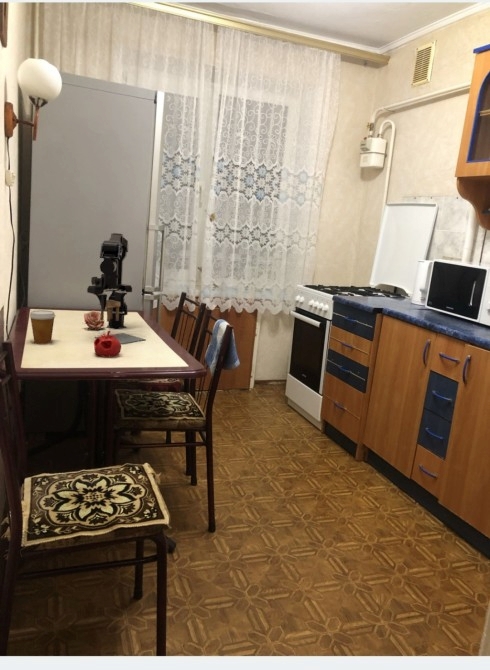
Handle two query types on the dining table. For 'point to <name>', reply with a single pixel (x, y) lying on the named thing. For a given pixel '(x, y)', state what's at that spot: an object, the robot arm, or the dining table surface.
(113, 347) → the pomegranate
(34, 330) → the disposable coffee cup
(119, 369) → the dining table surface
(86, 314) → the flower
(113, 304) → the stool
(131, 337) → the mat
